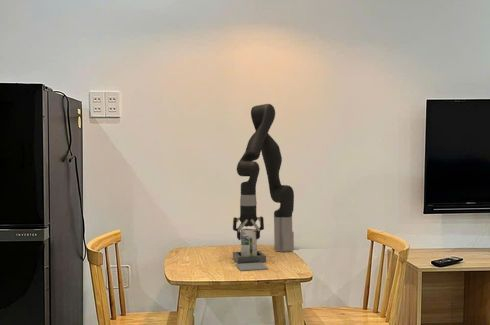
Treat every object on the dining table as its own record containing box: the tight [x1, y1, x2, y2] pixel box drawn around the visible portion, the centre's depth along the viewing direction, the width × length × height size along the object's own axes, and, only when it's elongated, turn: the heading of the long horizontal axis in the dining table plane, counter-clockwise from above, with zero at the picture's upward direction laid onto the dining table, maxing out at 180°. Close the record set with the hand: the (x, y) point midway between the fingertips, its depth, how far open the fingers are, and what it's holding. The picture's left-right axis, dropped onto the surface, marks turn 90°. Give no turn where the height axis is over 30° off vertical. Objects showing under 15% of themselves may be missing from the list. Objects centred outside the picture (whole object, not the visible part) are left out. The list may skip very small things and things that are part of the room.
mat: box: [234, 262, 269, 272], centre depth 212 cm, size 12×12×1 cm
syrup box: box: [240, 228, 258, 257], centre depth 226 cm, size 6×6×14 cm
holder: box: [232, 250, 267, 264], centre depth 226 cm, size 13×13×3 cm
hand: (248, 239), depth 226 cm, fingers open, 8 cm apart
